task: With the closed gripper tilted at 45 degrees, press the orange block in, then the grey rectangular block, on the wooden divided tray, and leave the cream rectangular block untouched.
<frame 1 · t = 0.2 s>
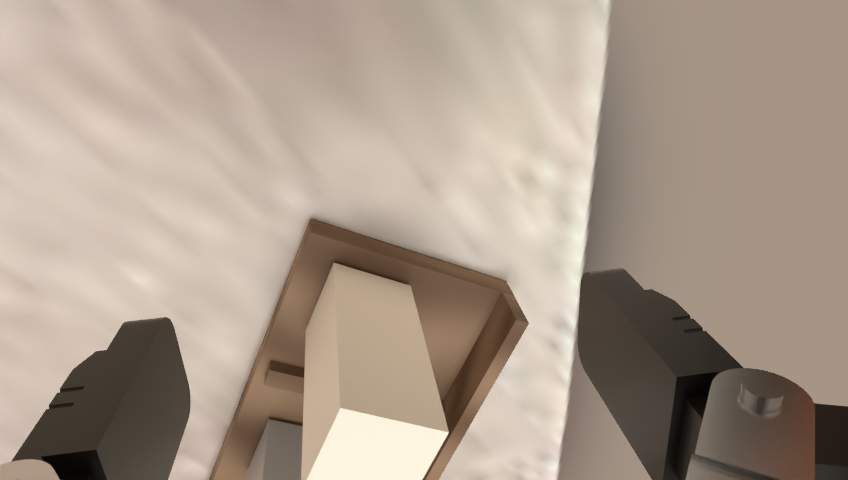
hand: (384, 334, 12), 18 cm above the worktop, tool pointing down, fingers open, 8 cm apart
cream rectangular block: (364, 372, 26), point 7 cm above the worktop, slide at 0.0 cm
wooden divided tray: (327, 436, 36), on the worktop
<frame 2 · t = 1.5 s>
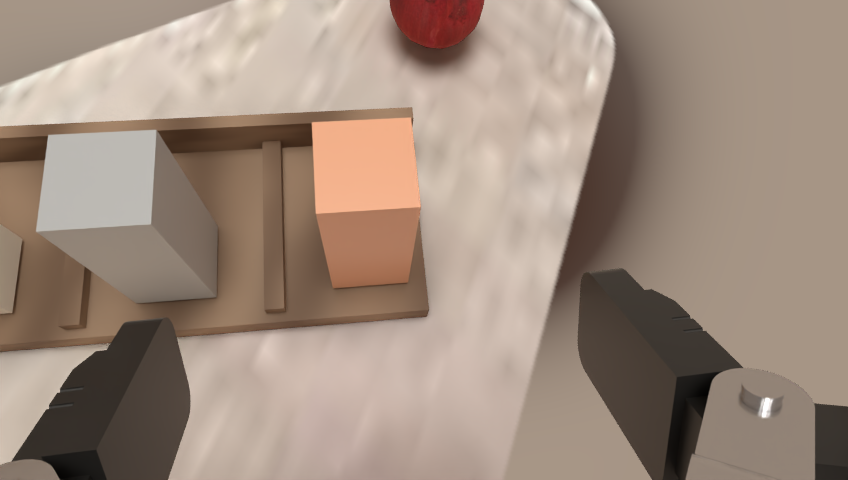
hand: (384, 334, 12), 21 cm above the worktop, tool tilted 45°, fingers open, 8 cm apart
orange block: (366, 214, 29), point 7 cm above the worktop, slide at 0.0 cm
grey rectangular block: (145, 228, 28), point 7 cm above the worktop, slide at 0.0 cm
onion: (431, 39, 41), on the worktop
wooden divided tray: (189, 240, 35), on the worktop
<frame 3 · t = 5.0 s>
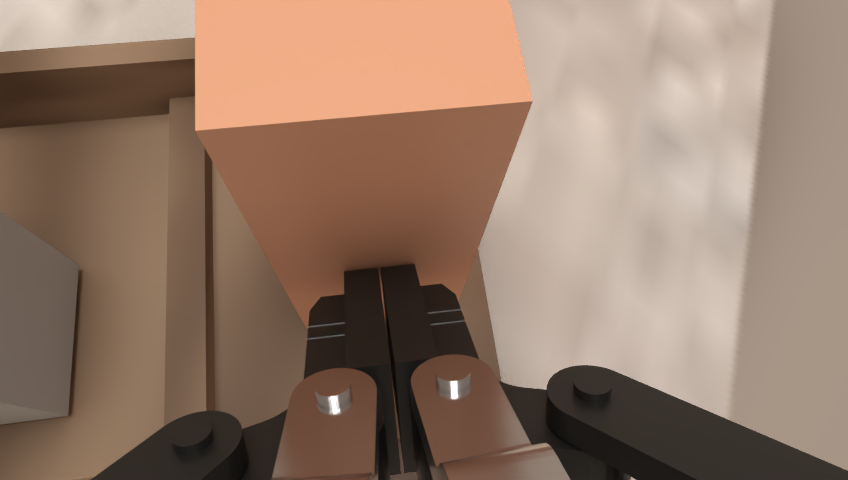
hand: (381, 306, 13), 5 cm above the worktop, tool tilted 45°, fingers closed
orange block: (367, 167, 13), point 7 cm above the worktop, slide at 1.5 cm, touching gripper
wooden divided tray: (37, 292, 18), on the worktop
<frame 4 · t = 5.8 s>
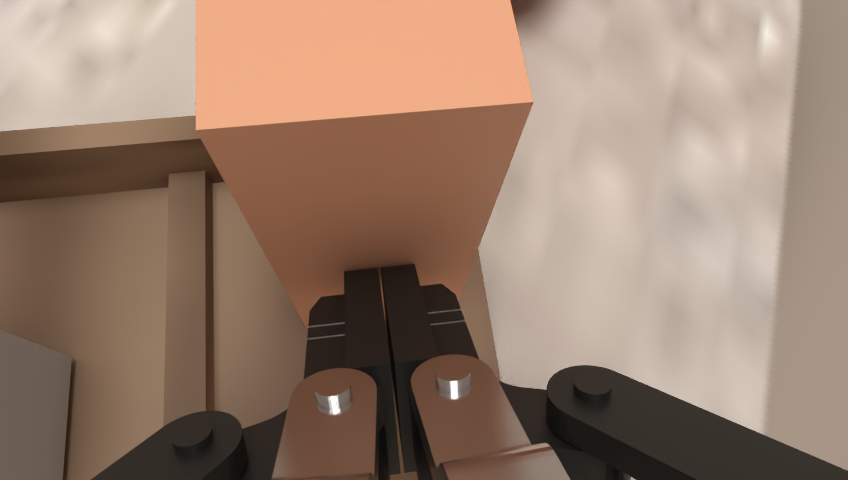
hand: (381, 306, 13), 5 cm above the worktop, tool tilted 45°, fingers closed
orange block: (367, 166, 13), point 7 cm above the worktop, slide at 4.0 cm, touching gripper
wooden divided tray: (28, 377, 17), on the worktop
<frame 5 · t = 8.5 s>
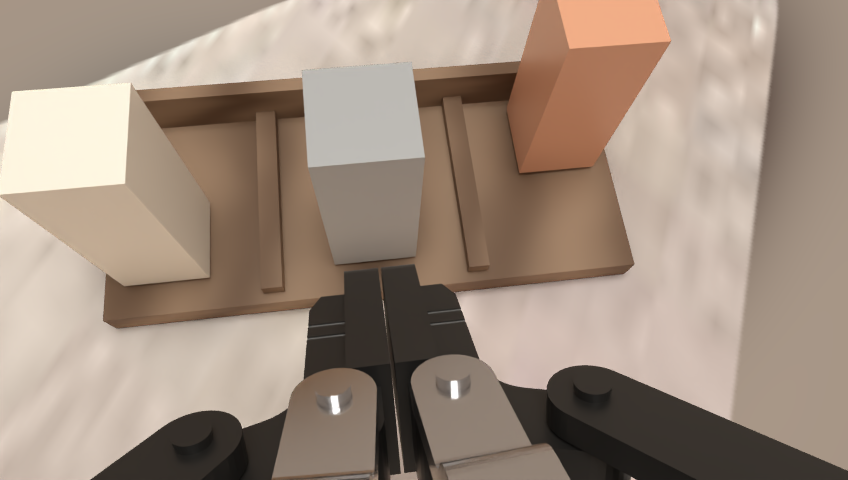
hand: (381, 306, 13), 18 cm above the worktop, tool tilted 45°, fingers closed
cream rectangular block: (126, 199, 25), point 7 cm above the worktop, slide at 0.0 cm
orange block: (573, 81, 29), point 7 cm above the worktop, slide at 4.1 cm
grey rectangular block: (367, 177, 26), point 7 cm above the worktop, slide at 0.0 cm
wooden divided tray: (369, 202, 33), on the worktop
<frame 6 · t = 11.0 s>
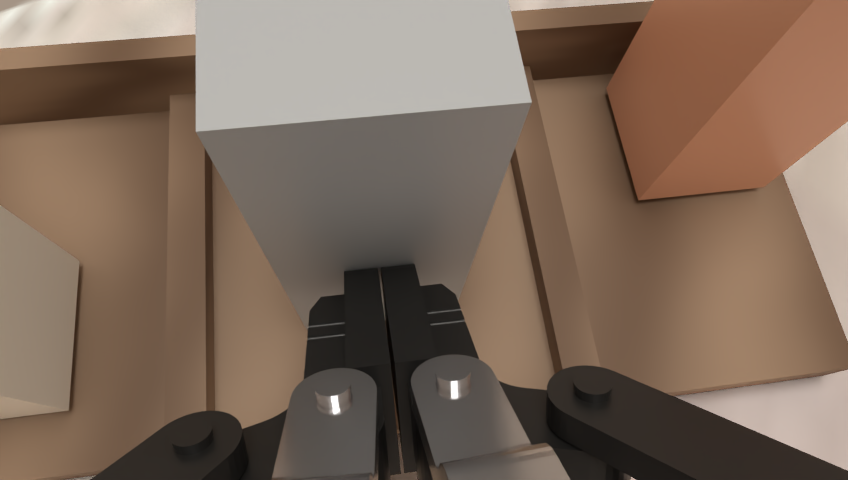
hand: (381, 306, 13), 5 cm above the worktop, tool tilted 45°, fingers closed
orange block: (775, 26, 15), point 7 cm above the worktop, slide at 4.1 cm
grey rectangular block: (366, 167, 13), point 7 cm above the worktop, slide at 1.4 cm, touching gripper
wooden divided tray: (372, 252, 19), on the worktop
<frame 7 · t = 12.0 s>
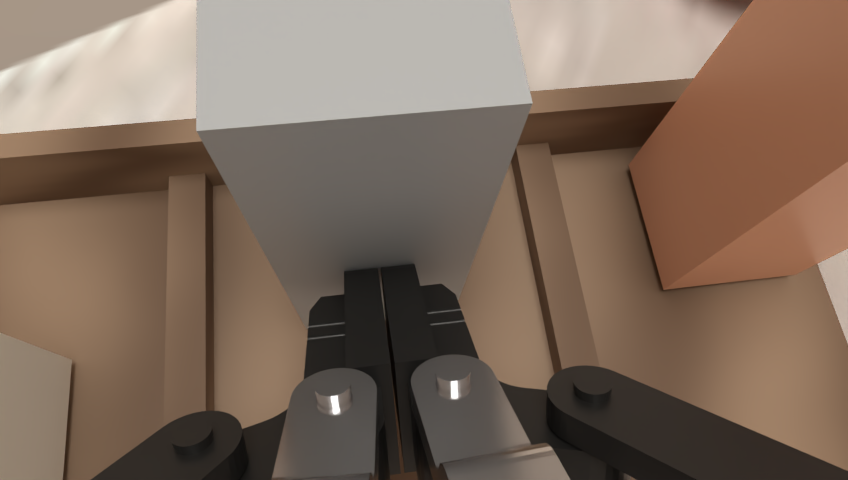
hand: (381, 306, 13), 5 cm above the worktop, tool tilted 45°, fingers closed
orange block: (819, 128, 14), point 7 cm above the worktop, slide at 4.1 cm
grey rectangular block: (367, 167, 13), point 7 cm above the worktop, slide at 4.1 cm, touching gripper
wooden divided tray: (382, 338, 18), on the worktop
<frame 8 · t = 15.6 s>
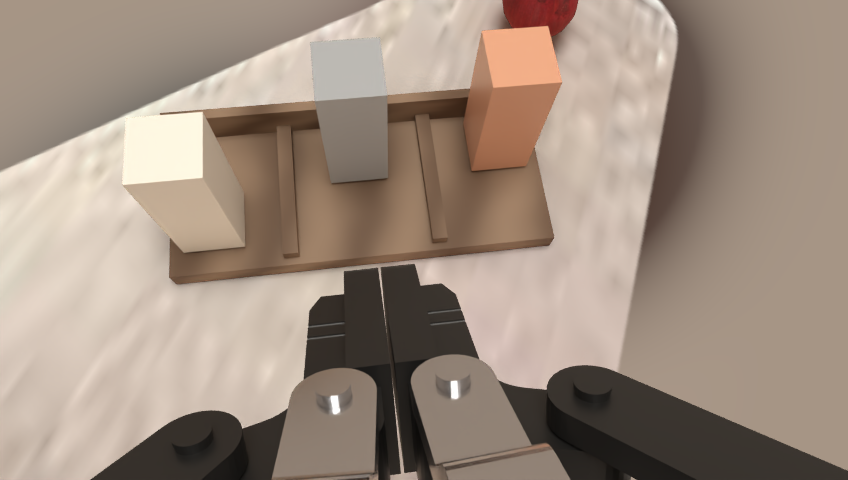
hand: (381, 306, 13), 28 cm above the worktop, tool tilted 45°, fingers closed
cream rectangular block: (192, 189, 37), point 7 cm above the worktop, slide at 0.0 cm
orange block: (506, 105, 40), point 7 cm above the worktop, slide at 4.1 cm
grey rectangular block: (353, 117, 39), point 7 cm above the worktop, slide at 4.1 cm
onion: (529, 32, 51), on the worktop
wooden divided tray: (360, 193, 45), on the worktop
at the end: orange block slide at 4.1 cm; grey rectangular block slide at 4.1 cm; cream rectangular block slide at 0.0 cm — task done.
